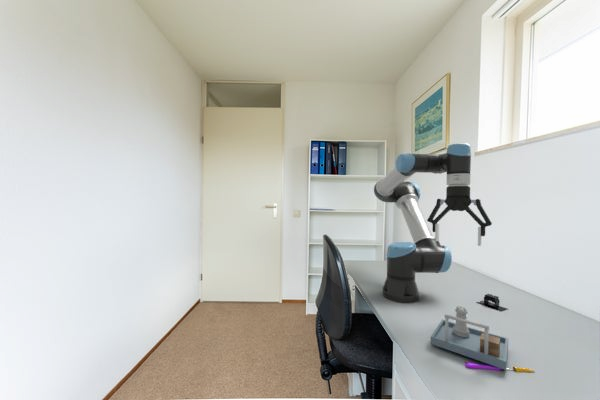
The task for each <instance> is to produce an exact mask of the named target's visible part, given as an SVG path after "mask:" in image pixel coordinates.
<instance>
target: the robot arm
mask: <svg viewBox="0 0 600 400" xmlns="http://www.w3.org/2000/svg"><path fill="white" fill-rule="evenodd" d="M471 158H472V152H471V145H470V144H469V143H464V142H463V143H461V142H459V143H453V144H452V143H451V144H449V145H448V146H447V148H446V153H445V152H444V153H436V154H435V153H400V154H399V155H397V157H396V160H395V167H393V168H392V169H391V171H390V172H389V173H388V174H386V175H385V176H384V178H380V179H379V180H378V181H376V183H375V184H374V187H373V193H374V195H375V197H376V198H377V200H379V201H382V202H384V203H394V204H395V205H396V207H397V208H398V209H400V210H401V212H402V216H403V218H404V221H405V223H406V226H407V228H408V230H409V232H410V237H411V238H412V241H413V242H411V241H399V242H394V243H391V244H388V246H387V248H386V249H387V251H386V278H385V281H384V284H383V286H382V296H384V298H386V299H388V300H391V301H394V302H398V303H404V304H405V303H407V304H409V303H416V302H418V301H420V290H419V287H418V285H417V282H416V274H420V273H421V274H422V273H424V274H425V273H426V274H427V273H429V274H434V273H436V274H440V273H447V272H448V271H449V269H450V268H451V266H452V260H453V259H452V257H453V256H452V253H451V250H450V248H449V247H448V246H446V245H441V243H440V223H438V222H440V221H441V220H442V219H443V217H445V216H446V215H447V213H449V212H450V211H453V212H455V211H459V212H463V211H465V212H467V213H468V215H469V216H470V217H471V218H472V219H473V220H474V221H475V222H476V223H477V224H478V225H479V226H478V227H477V246H478V247H481V246H482V237H485V236H486V227H490V226H492V224H493V223H492V221H491V220H490V218H489V216H488V215H487V212H486V210H485V209H484V207H483V206H482V202H481V201H482V200H481V199H480V198H477V199H471V187H470V185H471V161H472V159H471ZM415 173H416V174H417V173H427V174H428V173H429V174H430V173H431V174H435V175H436V174H440V175H441V174H443V173H446V186H447V187H446V189H445V191H446V196H445V197H446V198H445V199H444V198H443V199H442V198H437V199H436V204H435V206H434V208H433V209H432V211H431V213H430V214H429V216H428V217H427V222H429V223H431V225H432V232H433V233H435V234H434V236H433V234H432V232H431V230H430V228H429V225H428V224H427V222H426V219H425V217H424V214H423V213H422V211H421V208H420V206H419V204H418V203H419V200H420V199H421V198H420V197H421V192H420V190H421V189H420V188H419V186H418V184H417V183H416V182H413V181H407V180H408V179H409V178H410V177H412V176H413V175H415ZM444 203H445V205H446V207H445V208H444V209H443V210H442V211H441V212H440V213H439V214H438V216H436V214H437V213H438V212H439V210H440V208H441V206H442V205H444ZM471 204H473V206H476V208H477V210H478V211H479V214H480V215H481V217H482V218H483V220H484V221H483V220H482V219H481V218H480V217H479V216H478V215H477V214H476V213H475V212H474V211H473V210H472V209H471V207H469V206H470V205H471ZM435 217H436V218H435Z"/></svg>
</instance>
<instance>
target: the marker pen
mask: <svg viewBox="0 0 600 400" xmlns="http://www.w3.org/2000/svg"><path fill="white" fill-rule="evenodd" d="M464 363H465V367H466V368H467V369H472V370H473V369H474V370H490V371H491V370H492V371H505V370H504V369H501V368H498V367H496V366H493V365H490V364H479V363H478V364H477V363H475V362H471V361H464ZM507 370H508V371H509V370H510V371H515V372H516V373H535V370H533V369H530V368H527V367H525V368H524V367H518V366H512V368H507V367H506V371H507Z"/></svg>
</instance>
